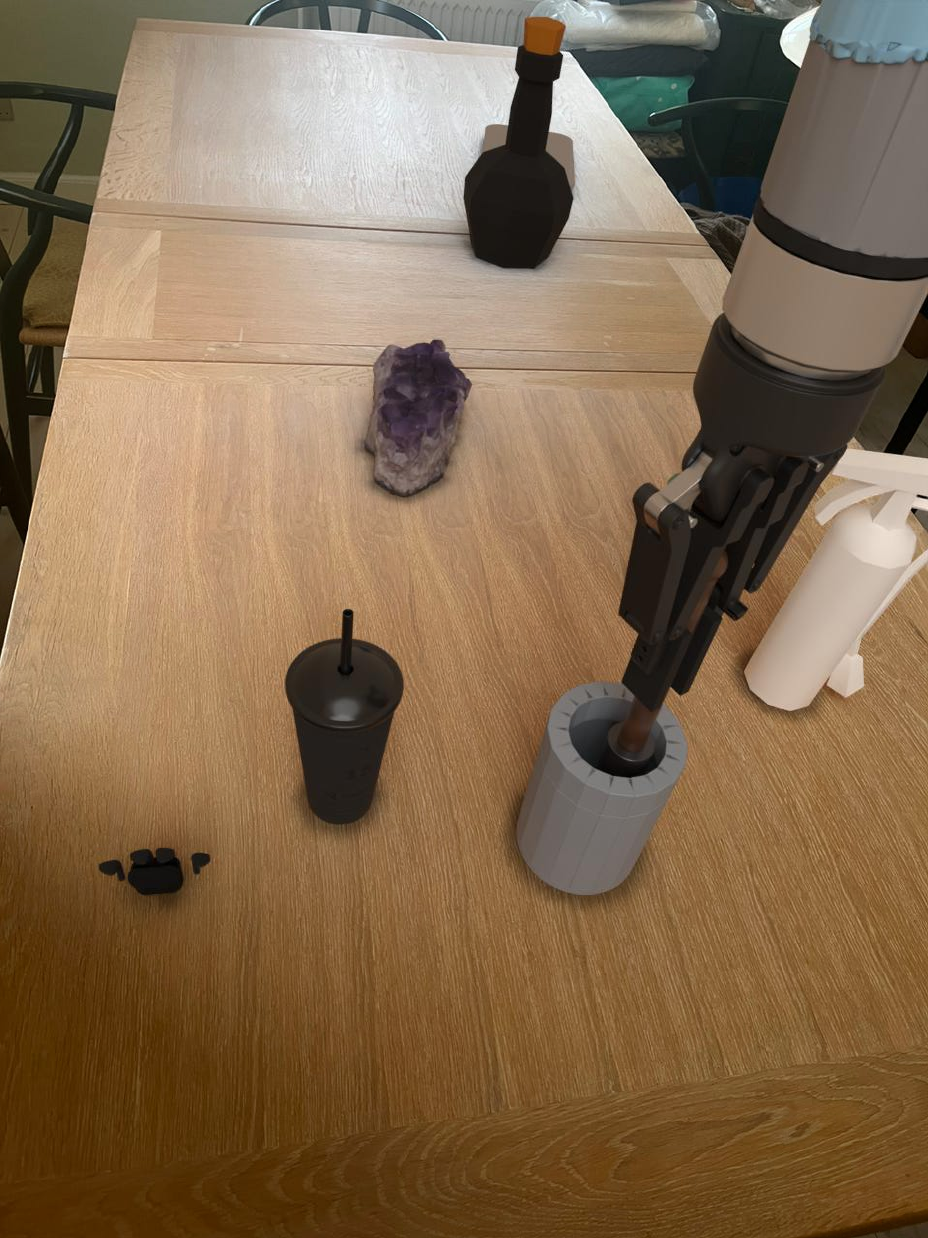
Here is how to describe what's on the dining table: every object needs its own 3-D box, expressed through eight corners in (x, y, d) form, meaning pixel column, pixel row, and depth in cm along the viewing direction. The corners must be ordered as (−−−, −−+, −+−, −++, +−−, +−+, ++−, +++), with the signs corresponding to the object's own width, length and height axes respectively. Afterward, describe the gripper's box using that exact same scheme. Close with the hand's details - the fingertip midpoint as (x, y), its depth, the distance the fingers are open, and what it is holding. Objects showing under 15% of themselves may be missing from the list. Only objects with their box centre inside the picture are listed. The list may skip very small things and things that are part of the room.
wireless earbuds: (213, 872, 64) (208, 835, 60) (213, 906, 62) (207, 869, 58) (107, 882, 62) (95, 844, 59) (103, 917, 61) (90, 880, 57)
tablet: (477, 188, 154) (479, 174, 152) (484, 134, 172) (486, 121, 170) (572, 202, 155) (575, 188, 153) (569, 148, 173) (572, 135, 171)
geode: (468, 506, 95) (466, 427, 88) (357, 504, 96) (346, 425, 88) (474, 393, 109) (474, 315, 101) (377, 392, 109) (369, 315, 102)
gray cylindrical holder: (642, 804, 72) (691, 700, 63) (629, 911, 66) (682, 813, 56) (528, 773, 73) (560, 666, 64) (504, 876, 66) (536, 774, 57)
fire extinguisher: (861, 731, 80) (1020, 510, 62) (724, 700, 81) (842, 471, 63) (853, 674, 85) (998, 453, 67) (724, 645, 85) (834, 418, 68)
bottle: (447, 263, 133) (473, 25, 112) (467, 219, 145) (494, -5, 123) (555, 284, 133) (602, 49, 111) (566, 239, 144) (611, 17, 123)
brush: (623, 801, 68) (742, 532, 49) (621, 838, 65) (745, 572, 47) (580, 792, 68) (682, 520, 49) (576, 829, 65) (682, 559, 47)
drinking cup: (267, 789, 69) (257, 601, 55) (349, 739, 73) (359, 552, 59) (329, 861, 65) (335, 681, 51) (411, 804, 69) (437, 623, 55)
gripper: (840, 267, 45) (695, 606, 61) (618, 328, 38) (523, 692, 54) (973, 341, 41) (779, 681, 58) (753, 424, 34) (606, 784, 51)
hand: (655, 686), depth 56 cm, fingers closed on brush, 2 cm apart
